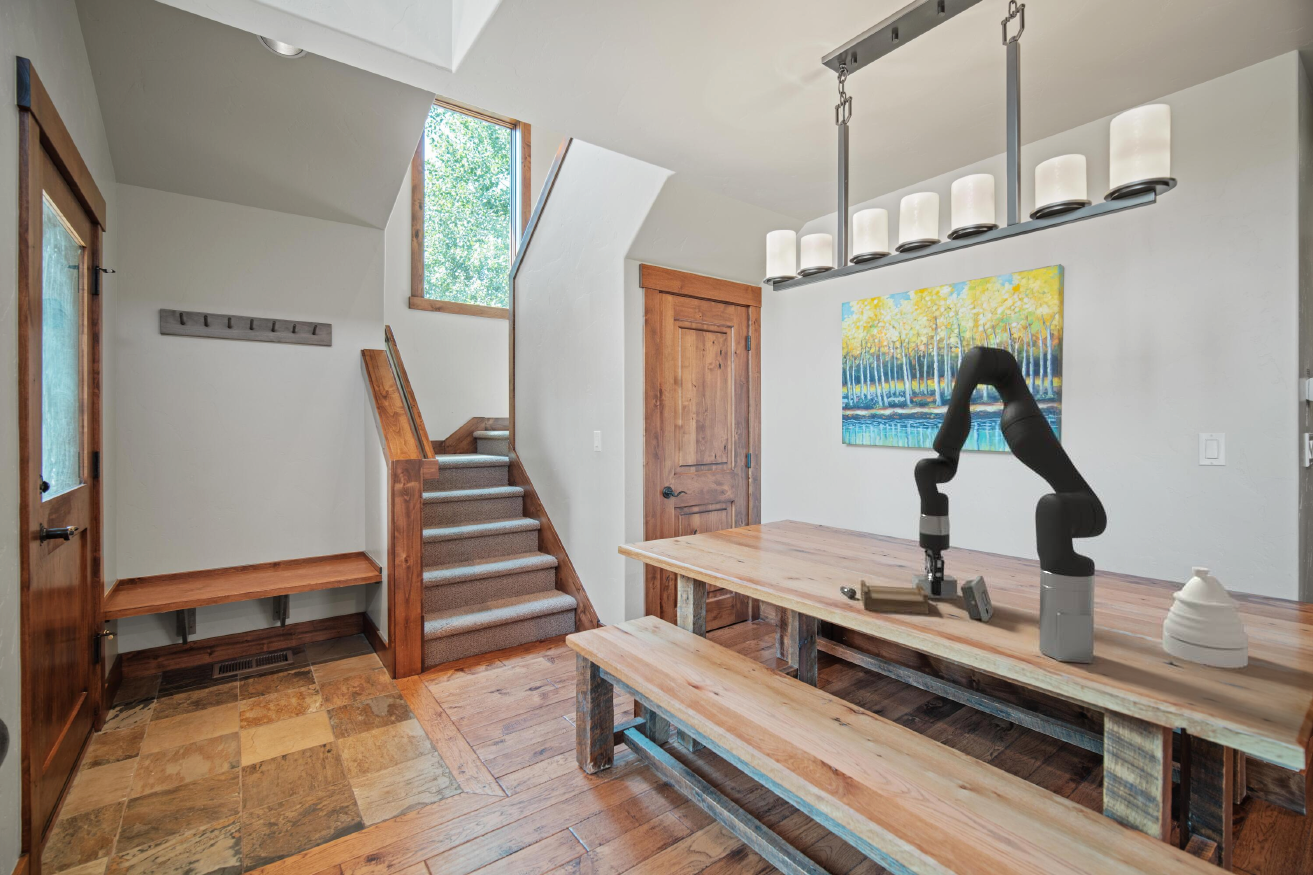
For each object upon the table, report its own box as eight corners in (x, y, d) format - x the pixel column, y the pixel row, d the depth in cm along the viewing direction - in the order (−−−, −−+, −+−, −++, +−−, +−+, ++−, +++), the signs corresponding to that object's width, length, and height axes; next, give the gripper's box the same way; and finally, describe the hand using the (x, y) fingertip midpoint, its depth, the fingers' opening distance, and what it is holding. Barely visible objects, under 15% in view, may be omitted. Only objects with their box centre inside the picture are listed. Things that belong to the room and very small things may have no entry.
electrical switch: (986, 623, 143) (982, 584, 143) (962, 620, 146) (959, 582, 146) (994, 613, 150) (990, 575, 150) (971, 611, 153) (967, 574, 153)
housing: (957, 598, 162) (957, 577, 161) (918, 597, 163) (918, 576, 163) (949, 592, 167) (949, 571, 167) (912, 591, 168) (912, 571, 168)
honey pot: (1226, 672, 114) (1229, 578, 114) (1149, 648, 126) (1150, 563, 126) (1261, 660, 120) (1263, 571, 119) (1183, 639, 131) (1185, 557, 131)
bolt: (856, 598, 163) (856, 588, 163) (847, 598, 163) (847, 588, 163) (847, 591, 169) (847, 582, 169) (838, 591, 169) (838, 582, 169)
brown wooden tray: (928, 613, 150) (928, 595, 149) (864, 609, 153) (864, 592, 153) (919, 599, 161) (919, 582, 161) (860, 595, 165) (860, 579, 165)
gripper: (955, 536, 156) (955, 600, 157) (943, 526, 170) (943, 585, 171) (924, 535, 158) (924, 598, 159) (915, 525, 172) (914, 583, 173)
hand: (933, 591), depth 165 cm, fingers closed on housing, 6 cm apart
